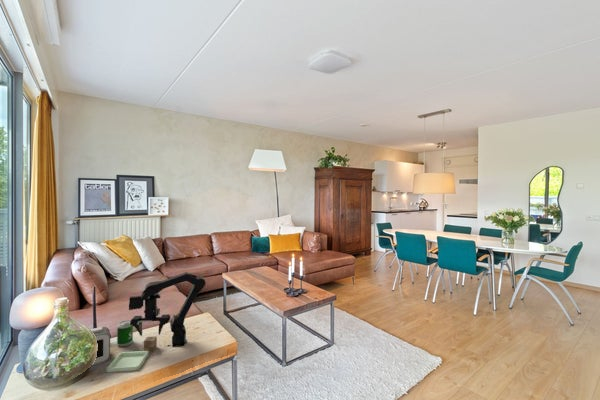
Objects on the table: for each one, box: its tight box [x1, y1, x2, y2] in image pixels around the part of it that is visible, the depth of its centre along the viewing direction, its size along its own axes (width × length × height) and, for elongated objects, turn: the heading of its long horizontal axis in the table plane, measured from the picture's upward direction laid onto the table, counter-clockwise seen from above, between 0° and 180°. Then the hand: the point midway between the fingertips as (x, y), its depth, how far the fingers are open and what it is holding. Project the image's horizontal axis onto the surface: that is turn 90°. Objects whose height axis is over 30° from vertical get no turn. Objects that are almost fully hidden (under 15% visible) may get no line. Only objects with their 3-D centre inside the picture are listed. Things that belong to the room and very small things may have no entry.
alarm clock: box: [89, 326, 111, 366], centre depth 144 cm, size 16×11×16 cm
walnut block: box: [142, 336, 158, 353], centre depth 155 cm, size 5×5×6 cm
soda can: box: [116, 320, 134, 347], centre depth 160 cm, size 8×8×12 cm
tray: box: [105, 350, 150, 373], centre depth 142 cm, size 14×14×2 cm
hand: (150, 335), depth 155 cm, fingers open, 9 cm apart
